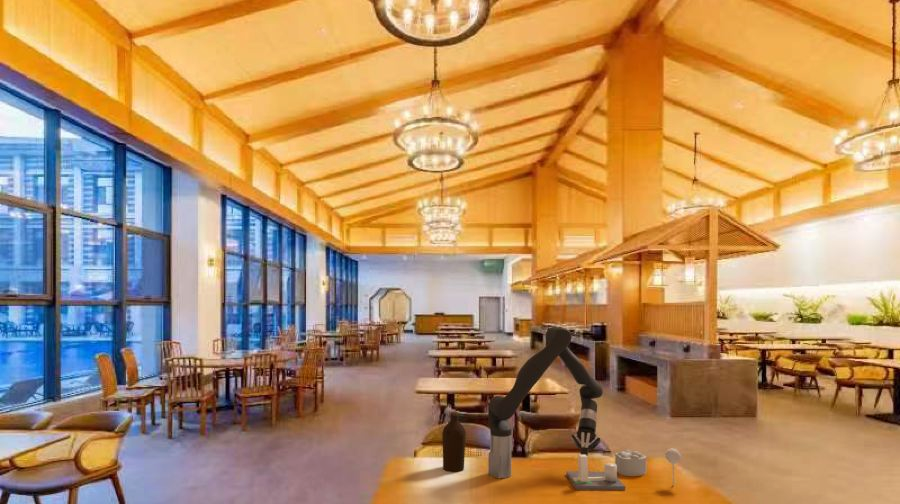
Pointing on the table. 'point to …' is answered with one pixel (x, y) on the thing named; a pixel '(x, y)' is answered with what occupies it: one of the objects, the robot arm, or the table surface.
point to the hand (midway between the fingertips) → (584, 457)
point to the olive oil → (453, 445)
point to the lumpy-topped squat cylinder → (630, 463)
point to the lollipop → (673, 457)
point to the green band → (583, 482)
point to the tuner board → (595, 482)
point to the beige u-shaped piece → (609, 475)
